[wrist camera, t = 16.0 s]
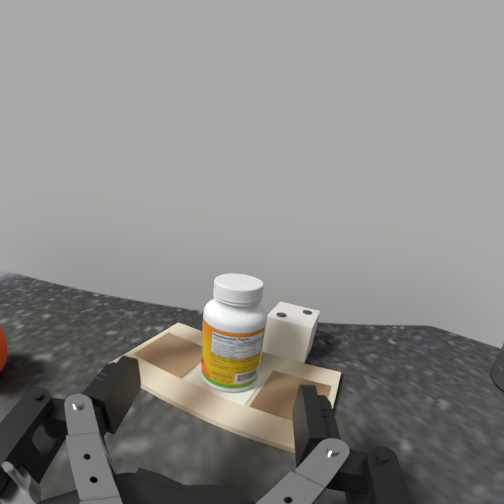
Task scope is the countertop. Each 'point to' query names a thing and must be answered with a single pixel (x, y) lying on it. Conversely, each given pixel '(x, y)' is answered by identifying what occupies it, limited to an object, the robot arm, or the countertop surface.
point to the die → (290, 331)
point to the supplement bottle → (233, 333)
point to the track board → (229, 403)
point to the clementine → (2, 350)
